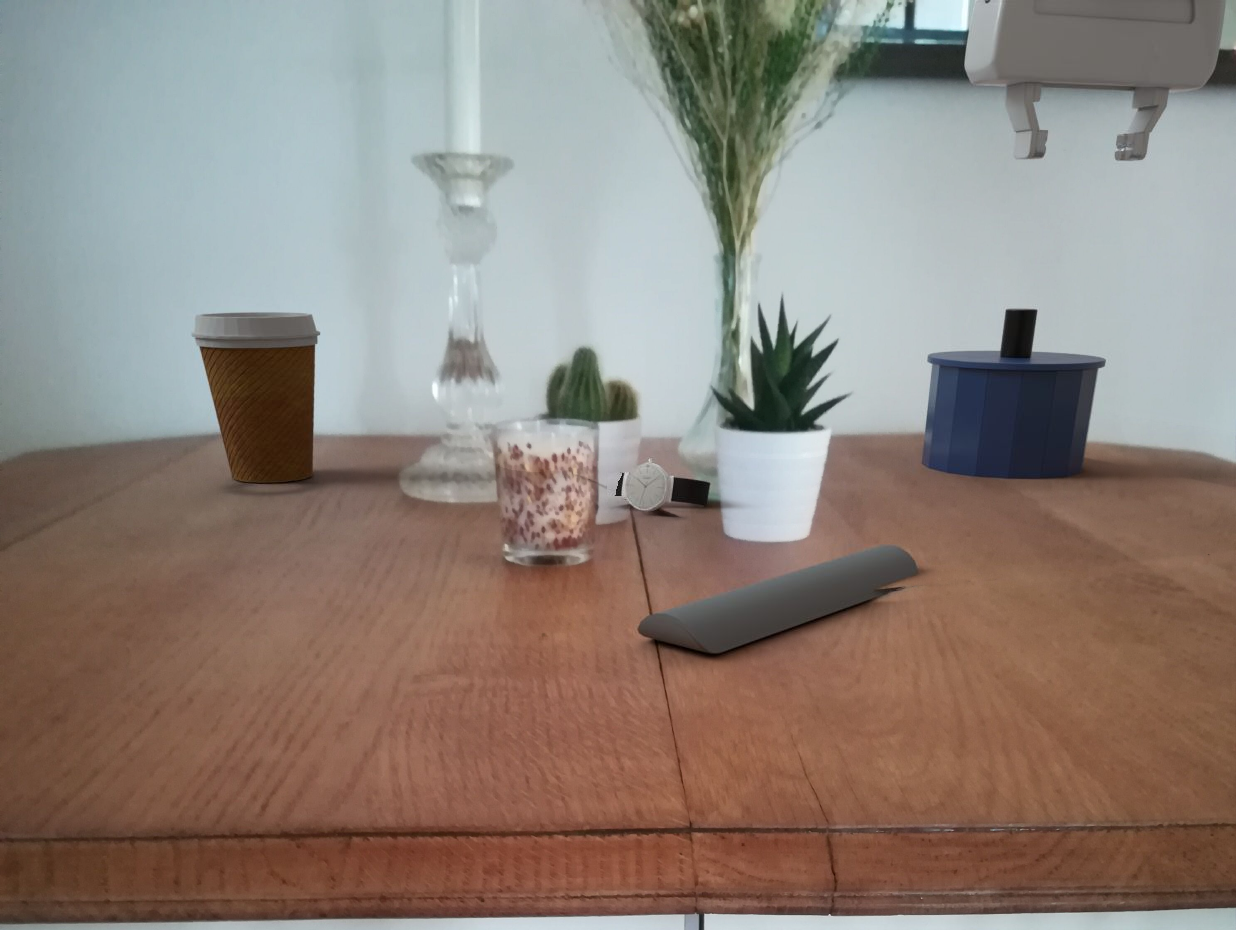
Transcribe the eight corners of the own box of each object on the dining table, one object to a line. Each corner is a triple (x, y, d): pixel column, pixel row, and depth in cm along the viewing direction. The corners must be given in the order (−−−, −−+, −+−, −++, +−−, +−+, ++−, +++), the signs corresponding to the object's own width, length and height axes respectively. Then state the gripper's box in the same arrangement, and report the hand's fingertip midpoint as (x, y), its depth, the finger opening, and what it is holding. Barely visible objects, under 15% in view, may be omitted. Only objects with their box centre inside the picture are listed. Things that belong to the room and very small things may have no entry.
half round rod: (923, 583, 67) (926, 550, 66) (701, 662, 54) (703, 623, 53) (856, 570, 69) (858, 539, 69) (629, 643, 56) (630, 605, 55)
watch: (593, 510, 86) (593, 456, 84) (623, 499, 89) (624, 448, 88) (693, 520, 82) (695, 464, 81) (721, 508, 86) (723, 455, 85)
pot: (1011, 457, 108) (1025, 355, 105) (1114, 480, 98) (1134, 367, 94) (892, 466, 104) (902, 359, 100) (986, 490, 93) (1002, 372, 90)
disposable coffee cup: (184, 479, 96) (161, 315, 91) (274, 463, 104) (257, 310, 99) (270, 491, 92) (251, 319, 87) (358, 473, 99) (344, 314, 94)
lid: (1025, 362, 106) (1032, 304, 104) (1142, 376, 94) (1153, 311, 92) (892, 367, 101) (898, 306, 99) (999, 381, 89) (1008, 314, 87)
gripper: (1017, -91, 78) (993, 154, 84) (1254, -67, 85) (1216, 158, 91) (957, -68, 83) (937, 161, 89) (1184, -48, 90) (1152, 164, 96)
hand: (1080, 159), depth 90 cm, fingers open, 8 cm apart
